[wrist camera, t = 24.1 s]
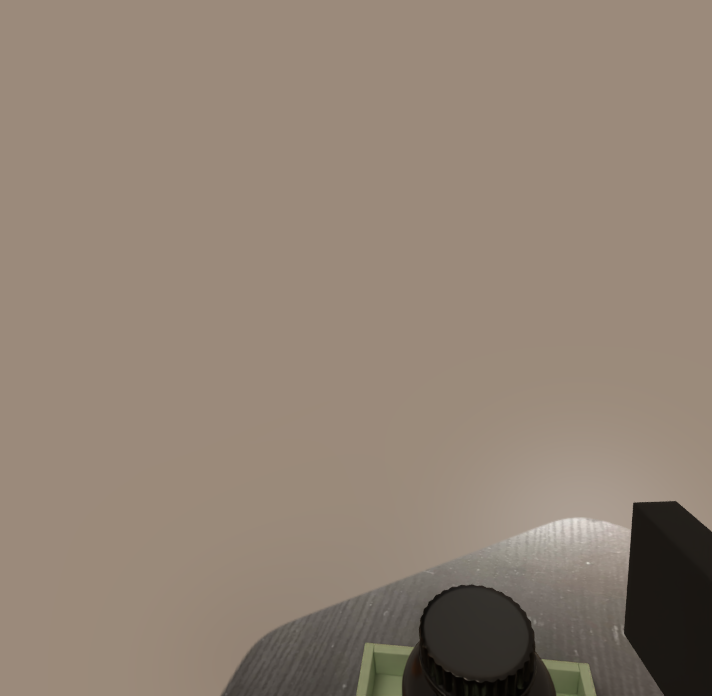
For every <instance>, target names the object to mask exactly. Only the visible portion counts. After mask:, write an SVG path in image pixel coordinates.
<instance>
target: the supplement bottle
mask: <svg viewBox="0 0 712 696" xmlns="http://www.w3.org/2000/svg"><path fill="white" fill-rule="evenodd" d="M419 638H420V641H419V642H418V643H417V644H416V646H415V647H414V648H413V650H412V652H411V653H410V655H409V657H408V660H407V662H406V665H405V668H404V672H403V677H402V696H557V695H556V690H555V687H554V683H553V681H552V678H551V675H550V673H549V671H548V669H547V667H546V666H545V664H544V662H543V661H542V659H541V658H540V657H539V655H538V654H537V653H536V652H535V641H534V631H533V629H532V627H531V621H530V620H529V619H528V618H527V616H526V612H524V611H523V610H522V609H521V608H520V605H519V604H517V603H516V602H514V601H513V600H512V598H511V597H508V596H505V595H504V594H503V593H502V592H499V591H496V590H494V589H493V588H486V587H484V586H475V585H467V586H466V585H460V586H458V587H451V588H450V589H449V590H444V591H442V592H441V594H438V595H436V596H435V597H434V599H433V600H431V601H430V602H429V603H428V606H427V607H426V608H425V609H424V611H423V615H422V616H421V618H420V626H419Z"/></svg>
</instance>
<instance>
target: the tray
mask: <svg viewBox="0 0 712 696" xmlns="http://www.w3.org/2000/svg"><path fill="white" fill-rule="evenodd" d="M413 648H414V647H406V646H395V645H385V644H375V645H374V644H373V643H365V647H364V653H363V658H362V664H361V670H360V676H359V681H358V687H357V693H356V696H402V677H403V672H404V668H405V665H406V662H407V660H408V657H409V655H410V653H411V652H412V650H413ZM542 661H543V662H544V664H545V666H546V667H547V669H548V671H549V673H550V675H551V678H552V681H553V683H554V687H555V690H556V695H557V696H596V692H595V688H594V684H593V680H592V676H591V672H590V668H589V664H587V663H575V662H565V661H554V660H544V659H542Z"/></svg>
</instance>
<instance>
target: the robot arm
mask: <svg viewBox="0 0 712 696" xmlns="http://www.w3.org/2000/svg"><path fill="white" fill-rule="evenodd" d="M624 634H625V636H626V637H627V639H628V640H629V642H630V644H631V645H632V647H633V648H634V650H635V651H636V653H637V654H638V656H639V657H640V659H641V660H642V662H643V664H644V665H645V667H646V668H647V670H648V671H649V673H650V674H651V676H652V677H653V679H654V680H655V682H656V683H657V685H658V687H659V688H660V690H661V691H662V693H663V694H664V696H712V532H711V531H710V530H709V529H708V528H707V527H705V526H704V525H703V524H702V523H701V522H700V521H698V520H697V519H696V518H695V517H694V516H693V515H692V514H690V513H689V512H688V511H687V510H686V509H685V508H683V507H682V506H681V505H680V504H679V503H677V502H676V501H669V502H639V503H633V517H632V529H631V543H630V557H629V571H628V585H627V599H626V613H625V626H624Z"/></svg>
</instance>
